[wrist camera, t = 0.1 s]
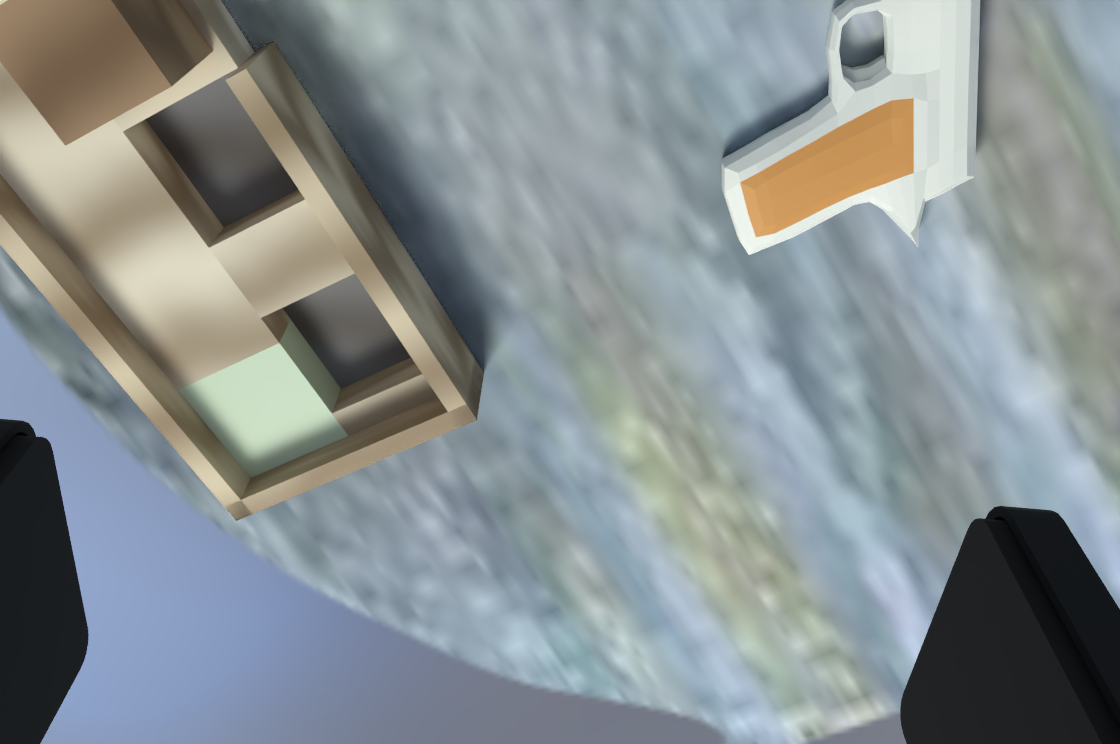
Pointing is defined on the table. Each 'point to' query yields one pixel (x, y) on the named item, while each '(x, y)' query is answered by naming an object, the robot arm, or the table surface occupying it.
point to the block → (96, 56)
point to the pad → (270, 404)
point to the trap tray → (231, 261)
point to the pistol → (868, 129)
